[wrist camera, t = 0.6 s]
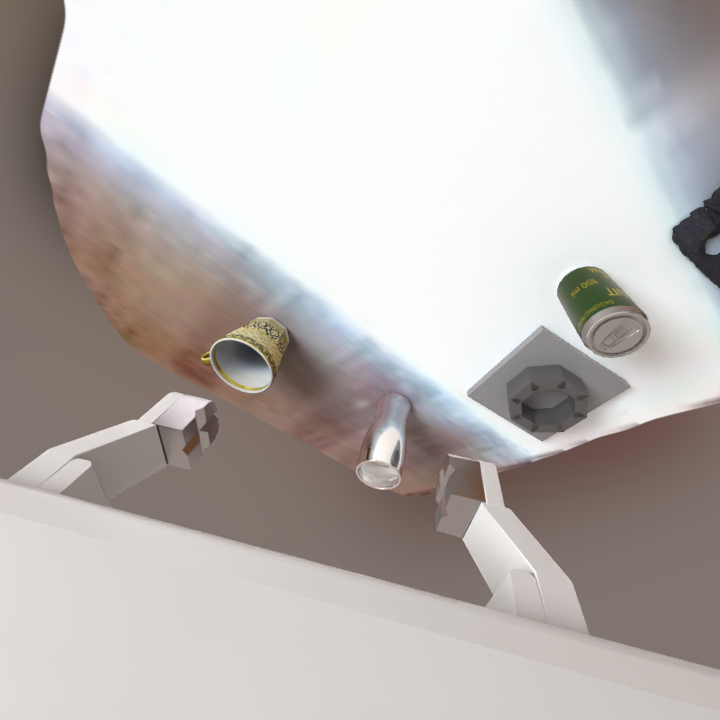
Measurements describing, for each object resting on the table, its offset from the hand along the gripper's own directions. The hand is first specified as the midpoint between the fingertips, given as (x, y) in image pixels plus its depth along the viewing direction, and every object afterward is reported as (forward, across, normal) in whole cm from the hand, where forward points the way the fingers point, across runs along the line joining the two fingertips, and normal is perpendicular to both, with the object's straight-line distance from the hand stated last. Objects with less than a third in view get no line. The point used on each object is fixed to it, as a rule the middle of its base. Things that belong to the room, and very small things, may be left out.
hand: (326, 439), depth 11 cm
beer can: (+36, -22, +2) cm, 42 cm away
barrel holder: (+37, -24, +18) cm, 48 cm away
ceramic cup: (+39, +21, +19) cm, 48 cm away
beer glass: (+39, -4, +28) cm, 49 cm away
